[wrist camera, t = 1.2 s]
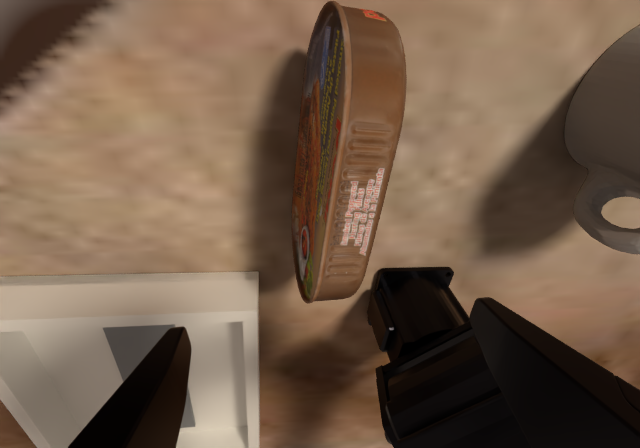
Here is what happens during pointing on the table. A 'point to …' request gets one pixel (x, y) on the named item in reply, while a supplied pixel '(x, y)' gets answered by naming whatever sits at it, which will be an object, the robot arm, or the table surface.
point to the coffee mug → (608, 139)
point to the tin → (345, 147)
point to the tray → (129, 350)
